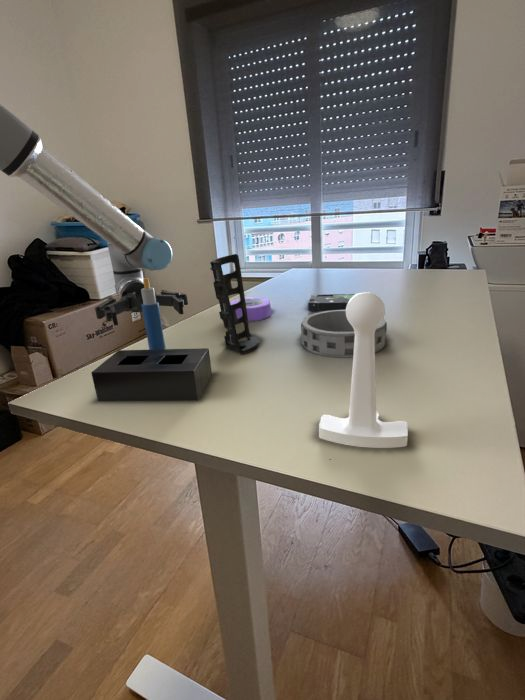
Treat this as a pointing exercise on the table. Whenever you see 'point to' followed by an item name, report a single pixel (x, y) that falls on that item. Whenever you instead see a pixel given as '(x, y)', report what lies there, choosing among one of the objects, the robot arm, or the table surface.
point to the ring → (334, 334)
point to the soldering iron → (152, 318)
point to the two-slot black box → (153, 375)
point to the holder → (229, 311)
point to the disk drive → (329, 302)
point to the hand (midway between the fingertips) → (149, 313)
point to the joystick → (364, 386)
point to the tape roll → (255, 308)
